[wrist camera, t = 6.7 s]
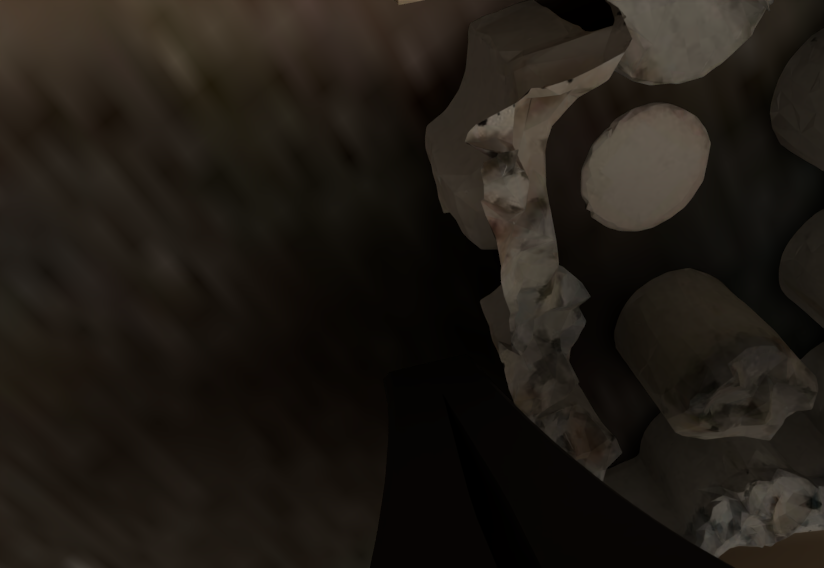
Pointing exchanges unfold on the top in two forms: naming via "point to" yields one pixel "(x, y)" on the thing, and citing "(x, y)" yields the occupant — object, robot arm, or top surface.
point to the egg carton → (662, 296)
